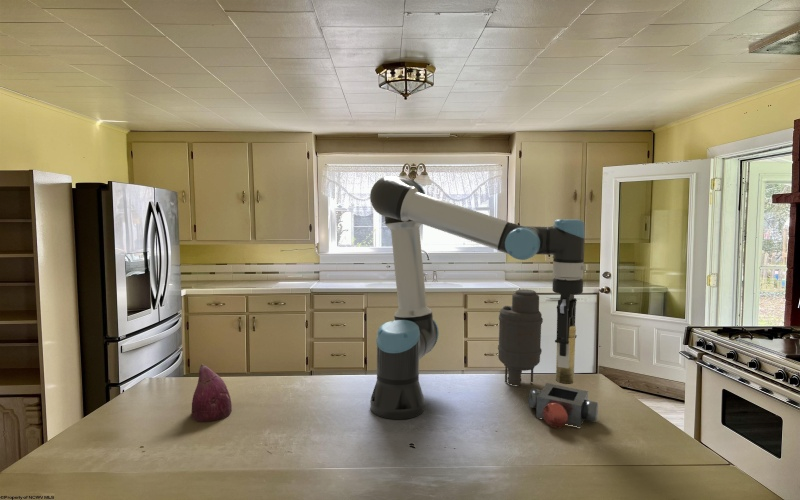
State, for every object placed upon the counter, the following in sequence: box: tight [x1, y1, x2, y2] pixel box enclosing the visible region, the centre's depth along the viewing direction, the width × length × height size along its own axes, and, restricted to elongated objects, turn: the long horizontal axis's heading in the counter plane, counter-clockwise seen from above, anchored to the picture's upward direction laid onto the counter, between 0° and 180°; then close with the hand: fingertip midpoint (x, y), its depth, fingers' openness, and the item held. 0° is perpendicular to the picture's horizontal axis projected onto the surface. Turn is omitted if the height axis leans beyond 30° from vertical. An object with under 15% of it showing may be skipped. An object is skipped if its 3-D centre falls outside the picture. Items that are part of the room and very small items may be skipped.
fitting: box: [555, 325, 577, 385], centre depth 118 cm, size 5×5×15 cm
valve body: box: [527, 382, 599, 429], centre depth 118 cm, size 17×15×6 cm
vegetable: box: [190, 363, 233, 423], centre depth 118 cm, size 10×10×15 cm
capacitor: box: [497, 289, 544, 386], centre depth 142 cm, size 14×14×30 cm
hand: (565, 364), depth 119 cm, fingers closed on fitting, 4 cm apart
